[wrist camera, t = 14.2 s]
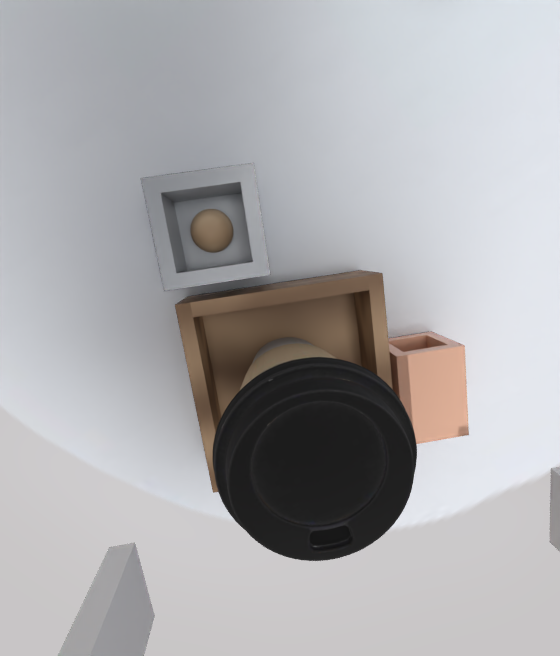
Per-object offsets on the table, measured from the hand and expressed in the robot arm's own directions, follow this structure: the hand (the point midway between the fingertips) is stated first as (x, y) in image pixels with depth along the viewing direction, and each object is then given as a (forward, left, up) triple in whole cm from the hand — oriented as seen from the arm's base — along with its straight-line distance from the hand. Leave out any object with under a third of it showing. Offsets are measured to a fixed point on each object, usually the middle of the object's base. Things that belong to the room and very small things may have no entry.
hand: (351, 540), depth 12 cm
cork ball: (-11, -4, -19) cm, 22 cm away
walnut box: (0, 0, -20) cm, 20 cm away
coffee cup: (0, 0, -19) cm, 19 cm away
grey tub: (-11, -4, -20) cm, 23 cm away
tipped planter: (+3, +10, -20) cm, 22 cm away
